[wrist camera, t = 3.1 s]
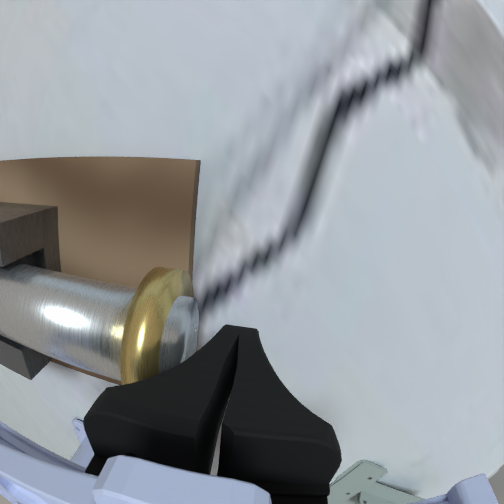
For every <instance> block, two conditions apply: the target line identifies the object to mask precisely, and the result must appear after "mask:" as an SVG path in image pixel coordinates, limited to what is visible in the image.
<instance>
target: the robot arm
mask: <svg viewBox="0 0 504 504" xmlns="http://www.w3.org/2000/svg"><path fill="white" fill-rule="evenodd" d="M230 394H231V395H230ZM229 397H230V399H229ZM228 400H229V402H228ZM227 404H228V406H227ZM226 407H227V409H226ZM225 410H226V412H225ZM224 413H225V416H224ZM223 416H224V419H223ZM222 419H223V422H222ZM221 422H222V430H221V442H220V455H219V467H218V473H217V476H213V475H210V472H211V467H212V462H213V456H214V451H215V446H216V441H217V436H218V432H219V429H220V425H221ZM72 425H73V427H74V429H75V432H76V434H77V436H78V439H79V441H80V443H81V444H80V446H79V448H78V449H77V451H76V452H75V454H74V456H73V457H72V459H71V461H69V460H67V459H65V458H63V457H61V456H59V455H57V454H55V453H53V452H51V451H49V450H47V449H45V448H44V447H42V446H40V445H38V444H36V443H35V442H33V441H31V440H29V439H28V438H26V437H24V436H23V435H21V434H19V433H18V432H16V431H15V430H13V429H11V428H10V427H8V426H7V425H5V424H4V423H2V422H1V421H0V494H1V495H2V496H4V497H5V498H6V499H7V500H9V501H10V502H11V503H13V504H328V498H327V496H329V495H330V485H329V483H330V481H331V480H332V478H333V476H334V475H335V473H336V471H337V470H338V468H339V466H340V464H341V461H342V459H341V450H340V446H339V443H338V440H337V437H336V434H335V432H334V429H333V427H332V425H330V424H329V423H327V422H326V421H324V420H323V419H321V418H319V417H318V416H316V415H315V414H313V413H312V412H311V411H310V410H308V409H307V408H306V407H305V406H303V405H302V404H301V403H300V402H299V401H298V400H297V399H296V398H295V397H294V396H293V395H292V394H291V393H290V392H289V391H288V389H287V388H286V387H285V386H284V384H283V383H282V382H281V380H280V379H279V378H278V376H277V375H276V373H275V371H274V370H273V368H272V366H271V364H270V362H269V361H268V359H267V356H266V354H265V352H264V350H263V347H262V344H261V341H260V338H259V332H258V330H257V329H254V328H247V327H240V326H233V325H225V326H223V327H222V328H221V330H220V331H219V332H218V333H217V334H216V335H215V336H214V337H213V338H212V339H211V340H210V341H209V342H208V343H206V344H205V345H204V346H203V347H202V348H201V349H200V350H198V351H197V352H196V353H194V354H193V355H192V356H190V357H189V358H188V359H186V360H185V361H183V362H182V363H180V364H178V365H177V366H175V367H173V368H171V369H169V370H167V371H165V372H162V373H160V374H158V375H155V376H153V377H150V378H147V379H144V380H141V381H137V382H134V383H130V384H125V385H120V386H114V387H108V388H106V389H105V391H104V392H103V393H102V394H101V395H100V396H99V397H98V398H97V400H96V401H95V402H94V404H93V405H92V407H91V408H90V410H89V411H88V413H87V414H86V416H85V417H84V421H83V422H82V421H79V420H77V419H74V420H73V421H72ZM407 504H498V502H497V499H496V497H495V495H494V492H493V490H492V488H491V486H490V484H489V482H488V479H487V477H486V475H485V474H480V475H477V476H474V477H471V478H468V479H465V480H462V481H460V482H458V483H457V484H455V485H454V486H453V487H452V488H451V489H450V490H449V491H448V493H447V494H445V495H441V496H437V497H433V498H429V499H425V500H421V501H416V502H412V503H407Z"/></svg>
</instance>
